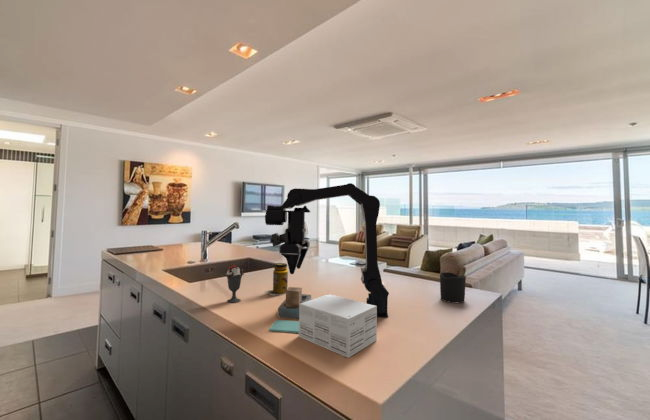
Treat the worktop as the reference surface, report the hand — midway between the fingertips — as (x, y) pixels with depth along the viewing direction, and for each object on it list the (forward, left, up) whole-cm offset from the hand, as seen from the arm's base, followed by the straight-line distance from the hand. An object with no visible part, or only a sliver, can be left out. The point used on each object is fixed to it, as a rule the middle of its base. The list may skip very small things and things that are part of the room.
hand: (295, 271), depth 94 cm
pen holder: (-59, -23, -14) cm, 65 cm away
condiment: (+12, -20, -14) cm, 27 cm away
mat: (-1, +14, -14) cm, 19 cm away
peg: (0, +2, -14) cm, 14 cm away
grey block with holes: (0, -1, -14) cm, 14 cm away
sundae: (+25, -6, -14) cm, 29 cm away
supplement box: (-16, +18, -14) cm, 28 cm away
